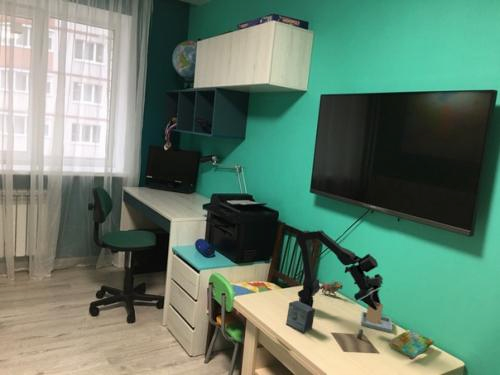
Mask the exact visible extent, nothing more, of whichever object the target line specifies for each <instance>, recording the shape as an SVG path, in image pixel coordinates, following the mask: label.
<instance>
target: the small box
mask: <svg viewBox="0 0 500 375" xmlns="http://www.w3.org/2000/svg"><path fill="white" fill-rule="evenodd" d="M315 312H316V308H314V307H310V306H308V305H306V304H303V303H301V302H299V300H295V301H291V302H289V303H288V310H287V316H286V322H285V325H286V326H288V327H290V328H292V329H294V330H296V331H298V332H300V333H301V334H303V335H304V334H306V333H307V331H310V330H312V329H313V323H314V319H315Z"/></svg>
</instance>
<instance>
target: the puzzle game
mask: <svg viewBox="0 0 500 375" xmlns="http://www.w3.org/2000/svg"><path fill="white" fill-rule="evenodd" d="M433 344H434V340H432V339H430V338H428V337H425V336H423V335H421V334H418V333H417V332H414V331H412V330H409V329H407V330H406V331H403V332H402V333H401V334H399V335H397V336H395V337H393V338H391V339H390V340H388V346H389V348H391V349H393V350H395V351H398V352H400V353H401V354H403V355H405V356H407V357H409V359H410V360H412V361H413V360H414V359H415V358H417V357H418V356H420V354H422V353H424V352H425V351H426V350H427V349H429V348H430V347H431V346H432V345H433Z"/></svg>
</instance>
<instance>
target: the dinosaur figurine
mask: <svg viewBox="0 0 500 375" xmlns="http://www.w3.org/2000/svg"><path fill="white" fill-rule="evenodd" d="M343 287H344V286H343V284H342V283H341V281H339V282H338V281H336V280H332V281H331V282H323V283H322V285H320V288H319V290H321V293H323V294H324V295H323V296H324V297H327V292H328V294H329V297H330V298H332V295H331V294H333V295H335V296H337V294H336V292H338V291H339V290H343Z"/></svg>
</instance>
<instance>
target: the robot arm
mask: <svg viewBox="0 0 500 375" xmlns="http://www.w3.org/2000/svg"><path fill="white" fill-rule="evenodd" d="M295 239H296V242H297V245H298V247H299V248H300V251H301V261H302V267H303V275H304V279H303V282H302V289H301V290H299V291H297V296H298V301H299V302H301V303H303V304H306V305H308V306H310V307H312V308H314V307H313V306H314V297H313V296H316V294H317V293H318V292H319V291H320V289H319V288H320V287H321V285H320V279H317V278H316V276H315V272H314V265H313V264H314V263H313V257H312V249H311V248H312V245H313V240H315V239H316V240H318V241H319V242H320V243H321V244H323V245H324V246H325V247H326V248H328V250H330V251H331V252H332V253H333V254H334V255H335V256H336V258H337V259H338V261H339V262H340V263H341V265H343V266H345V268H344V274H346V273H349V274H350V275H351V277H352V279H353V281H354V282H353V284H354V285H357V287H358V289H359V290H358V292H355V293H354V294H353V295H354V296H353V297H354V299H355V301H360V302H363V303H364V304H366V306H368V305H369V306H370V307H371V308H373V309H374V310H377V307H376V305H375V303H374V302H377V303H380V304H382V302H381V300H380V296H379V293H380V290H381V289H380V288H381V287H382V285H383V284H384V283H383V280H384V279H383V277H382V275H381V274H380V273H376V274H375V275H374V276H373V277H370V276H369V275H366V273H369V272H370V271H373V270H374V269H376V268H378V266H379V264H378V261H377V259H376V258H374V256H372V255H371V254H370V253H367V254H366V255H365V256H363V257H360V256H358V255H357V254H356V253H355V252H354V251H352V250H349V248H345V247H343V246H341V245H340V244H339V243H337V242H336V241H335V240H334V239H333V238H331V236H329V235H328V234H327V233H325V231H323V230H321V229H318V230H315V231H314V230H313V231H310V230H307V229H305V230H301V231H298V232H297V233H296V235H295Z"/></svg>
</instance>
